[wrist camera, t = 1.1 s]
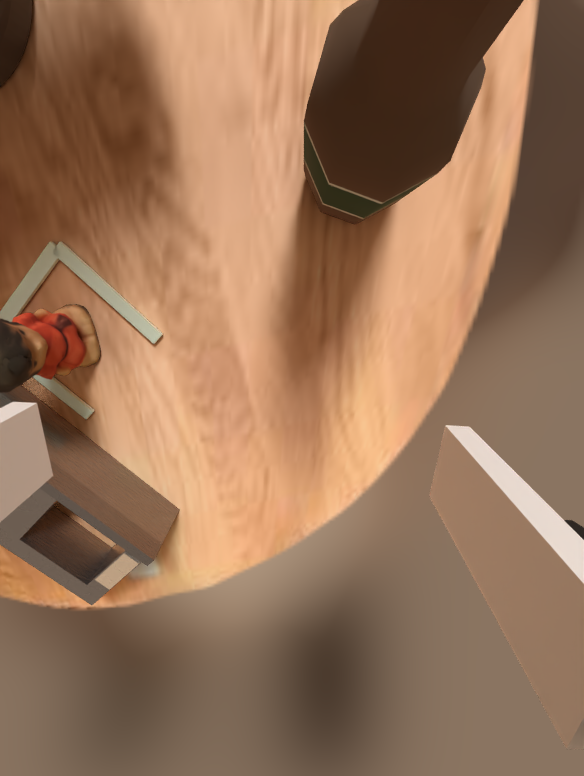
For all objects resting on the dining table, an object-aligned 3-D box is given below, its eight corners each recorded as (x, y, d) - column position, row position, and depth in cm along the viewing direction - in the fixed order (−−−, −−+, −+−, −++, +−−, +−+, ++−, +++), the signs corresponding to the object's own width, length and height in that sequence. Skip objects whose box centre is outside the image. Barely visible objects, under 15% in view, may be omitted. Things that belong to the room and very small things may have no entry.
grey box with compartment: (-89, 423, 36) (-177, 458, 29) (-33, 343, 33) (-118, 362, 26) (116, 566, 41) (80, 623, 35) (179, 509, 38) (153, 560, 32)
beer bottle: (401, 222, 28) (795, 43, 6) (306, 230, 29) (318, 91, 6) (405, 107, 26) (1140, -1048, 3) (300, 117, 26) (282, -838, 4)
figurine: (81, 380, 34) (-31, 437, 22) (32, 338, 32) (-112, 376, 21) (121, 336, 32) (22, 374, 21) (71, 290, 31) (-63, 304, 20)
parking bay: (-14, 336, 33) (-18, 336, 32) (56, 236, 29) (53, 236, 29) (88, 418, 35) (86, 419, 35) (163, 333, 32) (161, 334, 32)
